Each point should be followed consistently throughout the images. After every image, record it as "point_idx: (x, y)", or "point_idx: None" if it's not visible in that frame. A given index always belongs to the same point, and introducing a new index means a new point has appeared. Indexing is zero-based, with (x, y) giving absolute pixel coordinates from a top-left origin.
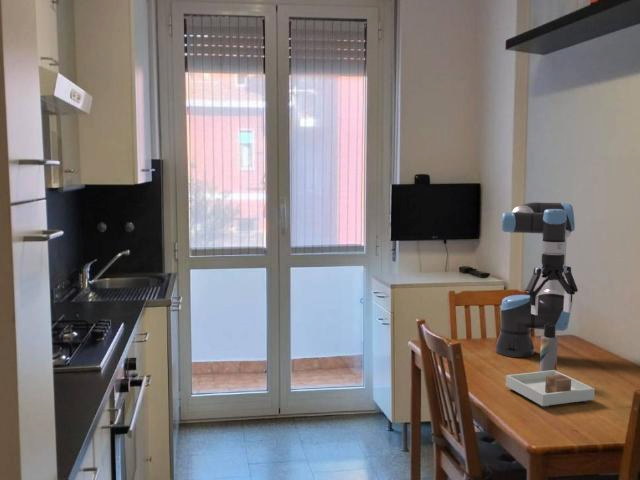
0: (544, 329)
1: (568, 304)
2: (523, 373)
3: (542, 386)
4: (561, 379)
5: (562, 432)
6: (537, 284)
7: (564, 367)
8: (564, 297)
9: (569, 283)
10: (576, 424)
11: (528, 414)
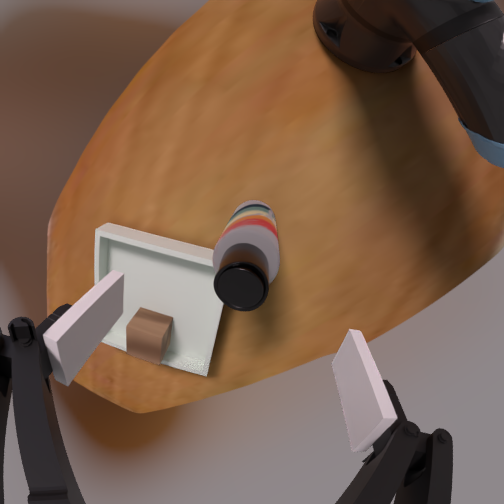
0: (219, 264)
1: (340, 396)
2: (138, 241)
3: (158, 284)
4: (140, 355)
5: (94, 373)
6: (24, 438)
7: (373, 185)
8: (372, 396)
9: (415, 496)
10: (123, 375)
11: None
